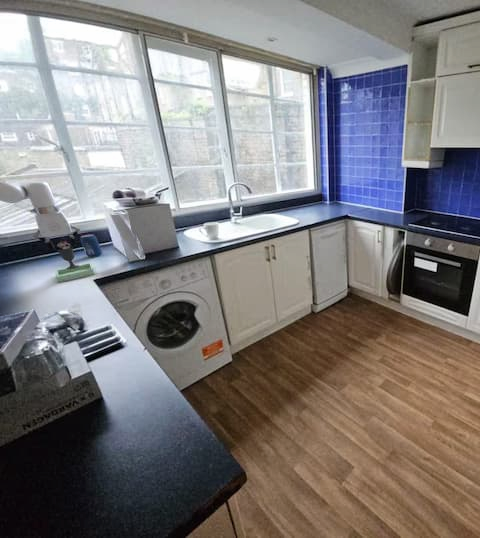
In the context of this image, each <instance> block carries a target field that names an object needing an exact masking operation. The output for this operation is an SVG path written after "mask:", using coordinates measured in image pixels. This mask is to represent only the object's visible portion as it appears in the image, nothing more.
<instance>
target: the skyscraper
mask: <svg viewBox="0 0 480 538" xmlns="http://www.w3.org/2000/svg"><path fill="white" fill-rule="evenodd" d="M123 211H124V212H123ZM109 215H110V217H111V219H112V222H113V224H114V226H115V228H116V229H117V232H118V233H119V236H120V240H121V244H122V247H123V249H124V252H125V254H126V257H127V260H128V261H129V263H133V262H138V261H144V260H146V255H145V251H144V249H143V247H142V244H141V242H140V240H139V238H138V235H137V234H135V235H134V233H133V231H132V225H131V219H130V216H129V211H127V209H123V208H122V209H121V208H120V209H117V210H116V211H113V212H110V213H109Z"/></svg>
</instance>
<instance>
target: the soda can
mask: <svg viewBox="0 0 480 538" xmlns="http://www.w3.org/2000/svg"><path fill="white" fill-rule="evenodd" d="M80 243H81V246H82V248H83V250H84V252H85V255H86V256H87V257H88V258H97V257H101V256H102V254H103V251H102V248H101V246H100V243H99V241H98V238H97V236H96V235H94V234H93V233H90V234H83V235H81V236H80Z"/></svg>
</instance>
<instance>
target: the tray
mask: <svg viewBox="0 0 480 538" xmlns="http://www.w3.org/2000/svg"><path fill="white" fill-rule="evenodd" d="M78 265H79V267H78V268H75V269H66V268H67V267H66V268H61V269H56V270H55V280H56V282H57V283H62V282H63V283H64V282H66V281H71V280H75V279H79V278H83V277H88V276H92V275H95V271H94V267H93V265H92V263H91V262H89V263H84V264H78Z"/></svg>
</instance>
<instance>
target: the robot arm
mask: <svg viewBox="0 0 480 538" xmlns="http://www.w3.org/2000/svg"><path fill="white" fill-rule="evenodd" d="M25 200H30V201H29V202H30V203H31V206H32V207H33V208H32V209H29V211H30V213H33V214H35V215H34V219H35V222H36V225H37V228H38V229H37V230H36V231H35V233H34V234H33V235H32V237H33V238H35V239H37V240H39V241H41V242H44V243H46V244H47V246H48V248H49V250H51V251H53V252H54V251H56V250H55V249H56V248H54V247H55V245H54V243H53V242H52V241H51V239H50V238H52V237H57V236H63V235H64V236H65V235H66V236H68V237H69V239H70V242H71V245H72V246H73V248H76V246H77V244H78V243H77V241H76V239H75V238H76V237H77V236H78V234H79V232H80V230H81V228H80V227H78V226H76V225H73V224H71V223H70V222H69V220H68V219H67V216H66V215H65V214H64V212H63V211H60V208H59V206H58V203H57V201H56V199H55V197H54V195H53V192H52V190H51V188H50V186H49V183H48V182H46V181H29V182H4V181H1V180H0V202H3V203H7V204H17V203H21V202H22V201H25ZM73 230H74V231H73ZM40 235H41V236H40Z"/></svg>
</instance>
